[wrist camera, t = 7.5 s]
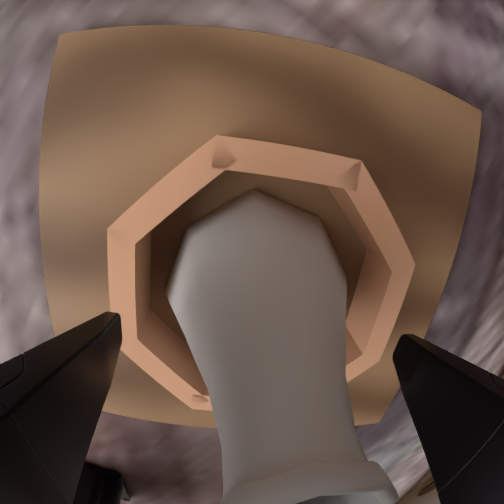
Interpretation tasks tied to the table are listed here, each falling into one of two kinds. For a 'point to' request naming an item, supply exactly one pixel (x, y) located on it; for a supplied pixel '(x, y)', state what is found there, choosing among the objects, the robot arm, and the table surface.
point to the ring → (272, 164)
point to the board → (234, 182)
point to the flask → (273, 354)
